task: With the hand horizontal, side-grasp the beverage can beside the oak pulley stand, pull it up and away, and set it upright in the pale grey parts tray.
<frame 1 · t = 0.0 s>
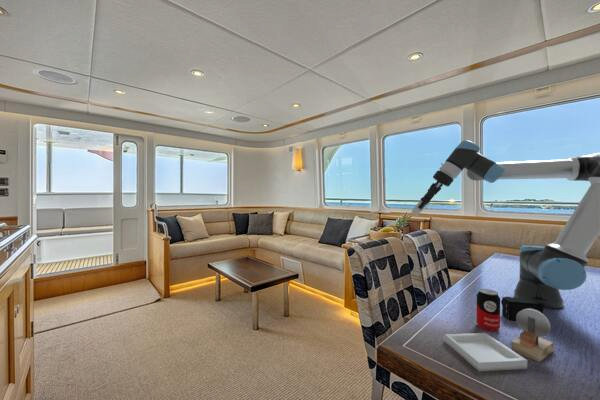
hand: (413, 213, 113), 36 cm above the table, tool tilted 35°, fingers open, 13 cm apart
beverage can: (487, 328, 84), on the table
tray: (482, 354, 70), on the table
digital camera: (520, 319, 91), on the table
pulley stand: (532, 350, 72), on the table
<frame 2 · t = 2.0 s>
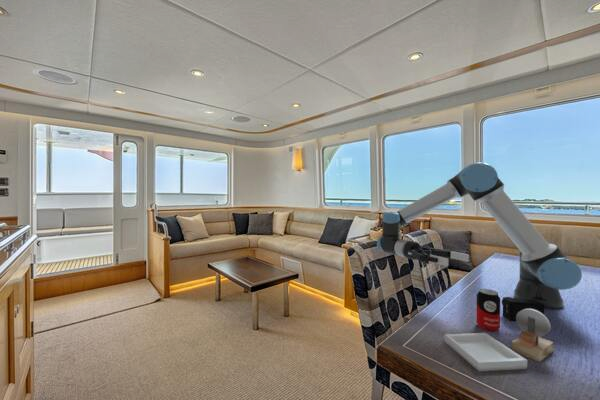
hand: (458, 260, 93), 20 cm above the table, tool horizontal, fingers open, 13 cm apart
nothing on the table moved.
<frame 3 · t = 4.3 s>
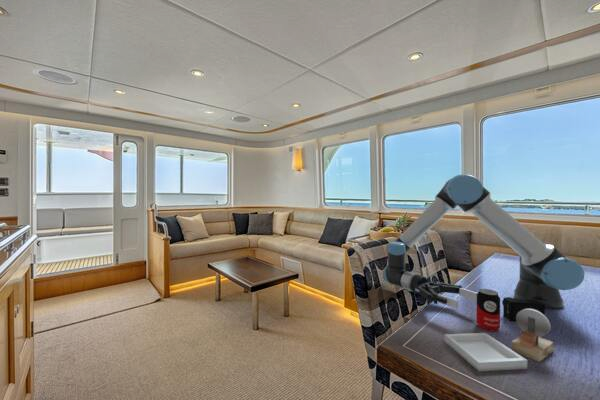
hand: (468, 300, 89), 7 cm above the table, tool horizontal, fingers open, 13 cm apart
nothing on the table moved.
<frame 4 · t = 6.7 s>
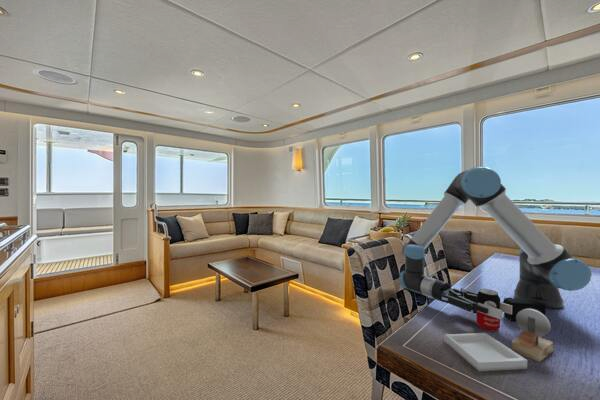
hand: (506, 312, 80), 7 cm above the table, tool horizontal, fingers closed on beverage can, 6 cm apart
beverage can: (487, 327, 84), on the table, touching gripper
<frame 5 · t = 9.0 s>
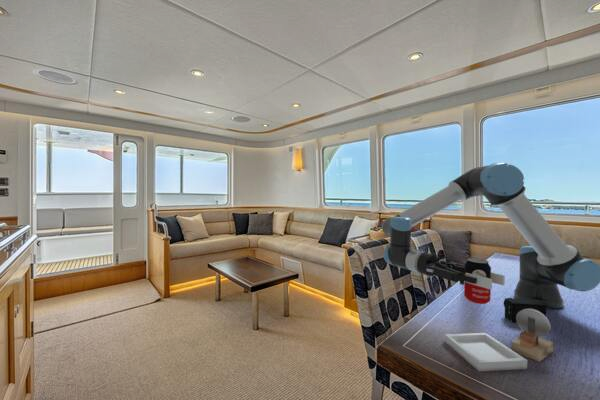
hand: (497, 282, 70), 20 cm above the table, tool horizontal, fingers closed on beverage can, 6 cm apart
beverage can: (476, 301, 75), point 12 cm above the table, touching gripper
when the fingers open (9 cm above the table, at t = 11.6 s): beverage can drops 1 cm, resting on tray.
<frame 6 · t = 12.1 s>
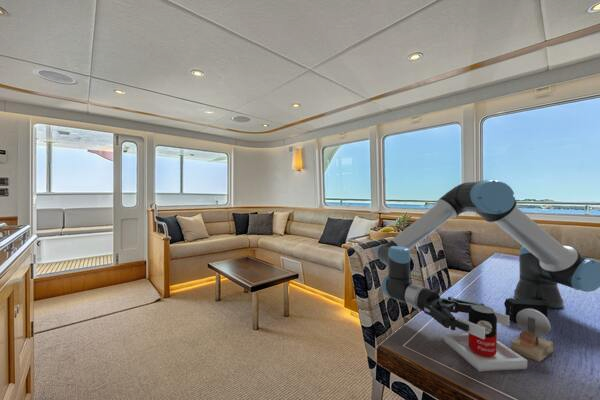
hand: (497, 327, 67), 9 cm above the table, tool horizontal, fingers open, 13 cm apart
beverage can: (482, 352, 70), resting on tray
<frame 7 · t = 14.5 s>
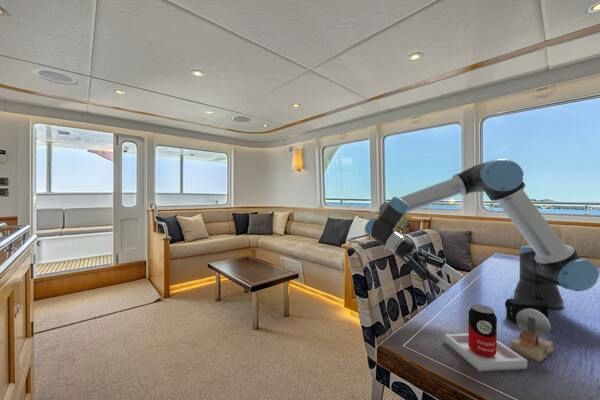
hand: (455, 283, 85), 14 cm above the table, tool tilted 60°, fingers open, 13 cm apart
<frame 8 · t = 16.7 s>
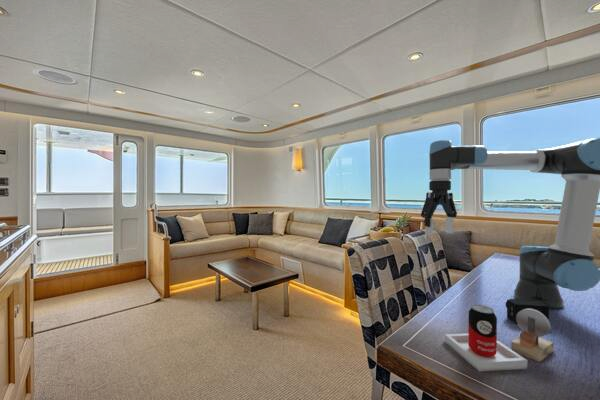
hand: (439, 234, 101), 29 cm above the table, tool pointing down, fingers open, 13 cm apart
at the end: beverage can inside the target area on the tray (0.1 cm from its centre), point 0.4 cm above the tray's base; beverage can tilted 0°; the gripper is holding nothing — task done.
